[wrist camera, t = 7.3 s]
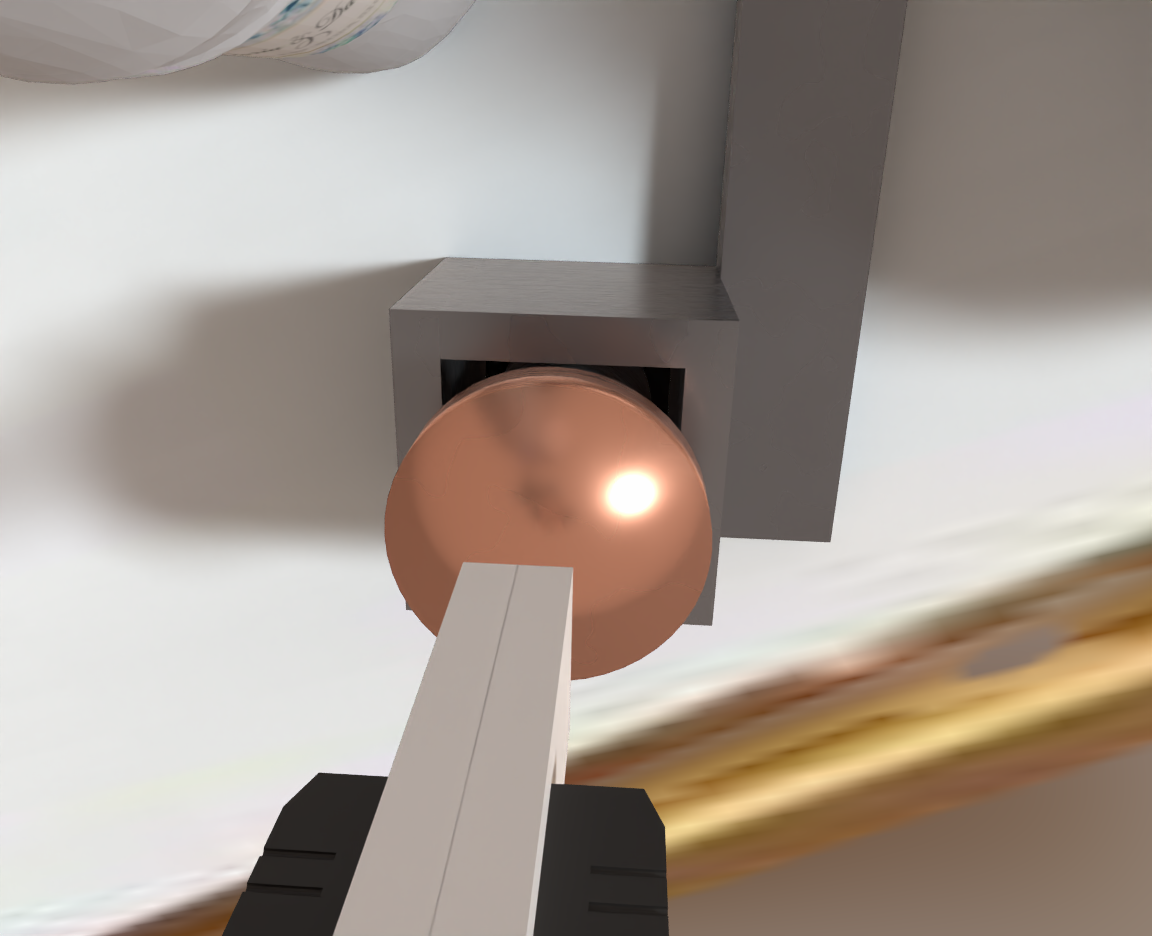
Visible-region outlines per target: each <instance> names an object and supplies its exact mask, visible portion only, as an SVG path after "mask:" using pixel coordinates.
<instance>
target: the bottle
mask: <svg viewBox="0 0 1152 936" xmlns="http://www.w3.org/2000/svg"><path fill="white" fill-rule="evenodd" d="M475 1H476V0H0V76H3V77H8V78H13V79H17V80H22V81H27V82H40V83H59V84H81V83H92V82H103V81H109V80H114V79H119V78H125V79H128V78H137V77H146V76H155V75H164V74H168V73H172V72H176V71H180V70H184V69H187V68H190V67H193V66H197V65H199V64H202V63H205V62H207V61H210V60H213V59H215V58H217V57H219V56H220V55H233V56H247V57H261V58H275V59H278V60H281V61H285V62H288V63H292V64H295V65H299V66H302V67H306V68H310V69H316V70H322V71H327V72H333V73H371V72H377V71H382V70H388V69H394V68H398V67H401V66H403V65H406V64H408V63H411V62H413V61H415V60H417V59H419V58H421V57H422V56H424V55H425V54H426V53H427V52H429V51H430V50H431V49H432V48H433V47H434V46H435V45H437V44H438V43H439V42H440V41H441V40H442V39H444V38H445V37H446V36H447V35H448V34H449V33H450V32H451V30H452V29H453V28H454V27H455V26H456V24H457V23H458V22H459V21H460V19H461V18H462V17H463V16H464V15H465V13H466V12H467V11H468V10H469V9H470V7H471V6H472V5H473V3H474V2H475Z"/></svg>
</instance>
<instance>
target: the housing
mask: <svg viewBox="0 0 1152 936" xmlns="http://www.w3.org/2000/svg"><path fill="white" fill-rule="evenodd" d="M906 7H907V0H737V6H736V19H735V32H734V44H733V57H732V70H731V82H730V95H729V108H728V120H727V133H726V146H725V158H724V171H723V184H722V197H721V209H720V222H719V235H718V247H717V260H716V266H695V265H664V264H634V263H603V262H572V261H542V260H511V259H480V258H450V257H446V258H445V259H444V260H443V261H442V262H440V263H439V264H438V265H437V266H436V267H435V268H434V269H433V270H432V271H431V272H429V273H428V274H427V275H426V276H425V277H424V278H423V279H422V280H421V281H419V282H418V283H417V284H416V285H415V286H414V287H413V288H412V289H411V290H410V291H408V292H407V293H406V294H405V295H404V296H403V297H402V298H401V299H400V300H399V301H397V302H396V303H395V304H394V305H393V306H392V307H391V308H390V309H389V315H390V333H391V350H392V368H393V386H394V403H395V421H396V439H397V456H398V469H399V467H400V465H401V463H402V461H403V459H404V458H405V456H406V454H407V453H408V451H409V450H410V448H411V446H412V445H413V443H414V442H415V440H416V438H417V437H418V435H419V434H420V432H421V431H422V430H423V428H424V427H425V425H426V424H427V422H428V421H429V420H430V419H431V418H432V417H433V416H434V414H435V413H436V412H437V411H438V410H439V409H440V408H441V407H442V406H443V405H445V404H446V403H447V402H448V401H449V400H451V399H452V398H453V397H454V396H455V395H457V394H459V393H460V392H462V391H463V390H465V389H467V388H468V387H470V386H472V385H473V384H476V383H478V382H480V381H482V380H485V379H486V361H505V362H531V363H558V364H584V365H610V366H636V367H663V368H670V384H669V400H668V417H669V418H670V419H671V421H672V422H673V423H674V424H675V425H676V427H677V428H678V429H679V430H680V431H681V433H682V434H683V436H684V437H685V439H686V441H687V442H688V444H689V445H690V447H691V449H692V451H693V453H694V455H695V457H696V460H697V462H698V464H699V466H700V469H701V473H702V476H703V480H704V483H705V487H706V493H707V499H708V505H709V511H710V518H711V526H712V555H711V561H710V567H709V572H708V575H707V578H706V582H705V585H704V588H703V590H702V592H701V594H700V596H699V598H698V601H697V603H696V605H695V606H694V608H693V609H692V611H691V612H690V614H689V615H688V617H687V618H686V620H685V621H684V623H683V624H690V625H709V626H712V620H713V609H714V598H715V587H716V576H717V565H718V554H719V543H720V537H729V538H750V539H772V540H793V541H814V542H830V541H831V534H832V527H833V520H834V513H835V506H836V499H837V492H838V485H839V478H840V471H841V464H842V457H843V450H844V443H845V435H846V428H847V421H848V414H849V407H850V400H851V393H852V386H853V379H854V372H855V365H856V358H857V351H858V344H859V337H860V330H861V323H862V316H863V309H864V302H865V295H866V288H867V281H868V274H869V267H870V260H871V253H872V246H873V239H874V232H875V225H876V217H877V210H878V203H879V196H880V189H881V182H882V175H883V168H884V161H885V154H886V147H887V140H888V133H889V126H890V119H891V112H892V105H893V98H894V91H895V84H896V77H897V70H898V63H899V56H900V49H901V42H902V35H903V28H904V21H905V14H906ZM406 610H412V609H411V608H410V607H409V605H408V603H407V602H406Z"/></svg>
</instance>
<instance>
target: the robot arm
mask: <svg viewBox="0 0 1152 936" xmlns="http://www.w3.org/2000/svg"><path fill="white" fill-rule="evenodd" d="M572 595H573V567H553V566H532V565H511V564H491V563H470V562H463V564H462V567H461V570H460V573H459V576H458V578H457V581H456V584H455V587H454V590H453V593H452V596H451V598H450V601H449V604H448V607H447V610H446V613H445V616H444V619H443V621H442V624H441V627H440V630H439V633H438V636H437V639H436V641H435V644H434V647H433V650H432V653H431V656H430V659H429V662H428V664H427V667H426V670H425V673H424V676H423V679H422V682H421V684H420V687H419V690H418V693H417V696H416V699H415V702H414V705H413V707H412V710H411V713H410V716H409V719H408V722H407V725H406V727H405V730H404V733H403V736H402V739H401V742H400V745H399V748H398V750H397V753H396V756H395V759H394V762H393V765H392V768H391V770H390V773H389V776H388V777H383V776H366V775H349V774H332V773H318V774H317V775H316V776H315V777H314V778H313V779H312V780H311V781H310V782H309V783H308V784H307V785H305V786H304V787H303V788H302V789H301V790H300V791H299V792H298V793H297V794H296V795H295V796H294V797H293V798H292V799H291V800H290V801H289V802H288V803H287V804H286V805H285V806H284V807H283V808H282V811H281V813H280V815H279V817H278V819H277V821H276V823H275V825H274V827H273V829H272V832H271V834H270V836H269V838H268V840H267V842H266V844H265V846H264V852H263V856H260V857H259V859H258V861H257V863H256V865H255V867H254V869H253V871H252V874H251V876H250V878H249V880H248V882H247V889H246V892H242V895H241V897H240V899H239V901H238V903H237V905H236V907H235V909H234V911H233V913H232V916H231V918H230V920H229V922H228V924H227V926H226V928H225V930H224V932H223V935H222V936H669V929H668V916H667V915H668V900H667V879H666V845H665V826H664V824H663V823H662V821H661V819H660V817H659V815H658V813H657V812H656V810H655V808H654V806H653V804H652V803H651V801H650V799H649V797H648V795H647V793H646V792H645V790H644V789H636V788H619V787H602V786H585V785H568V784H564V779H565V769H566V759H567V750H568V740H569V730H570V686H571V641H572Z"/></svg>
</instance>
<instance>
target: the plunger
mask: <svg viewBox="0 0 1152 936" xmlns="http://www.w3.org/2000/svg"><path fill="white" fill-rule="evenodd" d="M385 543H386V550H387V556H388V560H389V563H390V567H391V570H392V574H393V576H394V578H395V580H396V583H397V585H398V587H399V590H400V592H401V593H402V595H403V597H404V598H405V600H406V602H407V603H408V605H409V607H410V608H411V609H412V611H413V612H414V613H415V615H416V616H417V617H418V618H419V620H420V621H421V622H422V623H423V624H424V625H425V626H426V627H427V628H428V629H429V630H430V631H431V632H432V633H433V634H434V635H435V636H436V637H437V636H438V633H439V630H440V627H441V624H442V621H443V619H444V616H445V613H446V610H447V607H448V604H449V601H450V598H451V596H452V593H453V590H454V587H455V584H456V581H457V578H458V576H459V573H460V570H461V567H462V564H463V562H470V563H491V564H511V565H532V566H553V567H573V595H572V641H571V680H578V679H586V678H591V677H595V676H599V675H604V674H607V673H610V672H613V671H615V670H618V669H621V668H624V667H626V666H628V665H630V664H632V663H634V662H636V661H638V660H640V659H642V658H643V657H645V656H646V655H648V654H649V653H651V652H652V651H654V650H655V649H657V648H658V647H659V646H660V645H662V644H663V643H664V642H665V641H666V640H667V639H669V638H670V637H671V636H672V635H673V634H674V633H675V631H676V630H677V629H678V628H679V627H680V626H681V625H682V624H683V623H684V621H685V620H686V618H687V617H688V615H689V614H690V612H691V611H692V609H693V608H694V606H695V605H696V603H697V601H698V598H699V596H700V594H701V592H702V590H703V588H704V585H705V582H706V578H707V575H708V572H709V567H710V561H711V555H712V526H711V518H710V511H709V505H708V499H707V493H706V487H705V483H704V480H703V476H702V473H701V469H700V466H699V464H698V462H697V460H696V457H695V455H694V453H693V451H692V449H691V447H690V445H689V444H688V442H687V441H686V439H685V437H684V436H683V434H682V433H681V431H680V430H679V429H678V428H677V427H676V425H675V424H674V423H673V422H672V421H671V419H670V418H669V417H668V416H667V415H666V414H665V413H664V412H662V411H661V410H660V409H659V408H658V407H657V406H656V405H655V404H654V403H652V402H651V394H650V387H649V383H648V380H647V376H646V374H645V372H644V370H643V368H642V367H636V366H610V365H584V364H558V363H531V362H510V363H509V365H508V367H507V369H506V370H505V373H501V374H498V375H495V376H491V377H489V378H487V379H485V380H482V381H480V382H478V383H476V384H473V385H472V386H470V387H468V388H467V389H465V390H463V391H462V392H460V393H459V394H457V395H455V396H454V397H453V398H452V399H451V400H449V401H448V402H447V403H446V404H445V405H443V406H442V407H441V408H440V409H439V410H438V411H437V412H436V413H435V414H434V416H433V417H432V418H431V419H430V420H429V421H428V422H427V424H426V425H425V427H424V428H423V430H422V431H421V432H420V434H419V435H418V437H417V438H416V440H415V442H414V443H413V445H412V446H411V448H410V450H409V451H408V453H407V454H406V456H405V458H404V459H403V461H402V463H401V465H400V467H399V469H398V471H397V473H396V475H395V477H394V479H393V482H392V486H391V489H390V492H389V495H388V499H387V506H386V512H385Z"/></svg>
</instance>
